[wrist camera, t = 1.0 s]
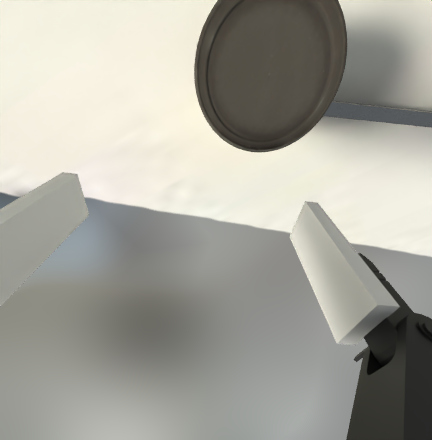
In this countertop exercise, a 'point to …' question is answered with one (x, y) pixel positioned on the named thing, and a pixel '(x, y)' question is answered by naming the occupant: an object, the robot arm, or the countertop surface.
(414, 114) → the grey u-shaped frame
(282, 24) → the coffee can
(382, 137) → the countertop surface
